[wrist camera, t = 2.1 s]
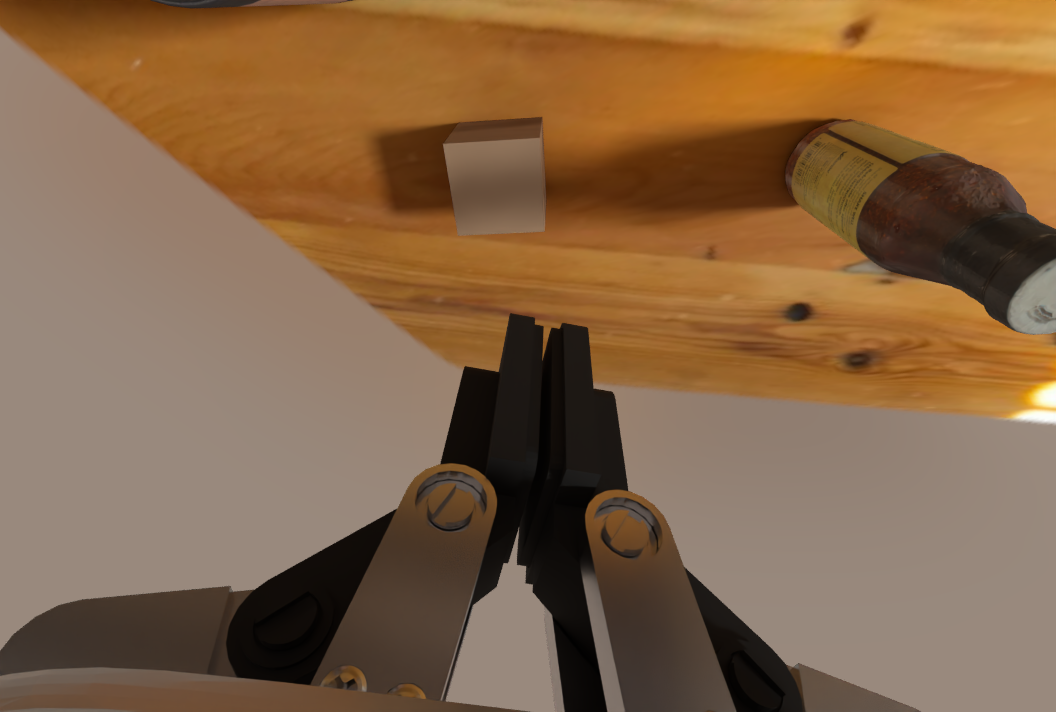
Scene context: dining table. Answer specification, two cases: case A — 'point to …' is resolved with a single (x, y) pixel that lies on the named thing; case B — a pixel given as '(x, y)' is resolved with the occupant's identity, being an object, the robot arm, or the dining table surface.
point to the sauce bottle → (929, 218)
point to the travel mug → (240, 3)
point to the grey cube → (497, 176)
